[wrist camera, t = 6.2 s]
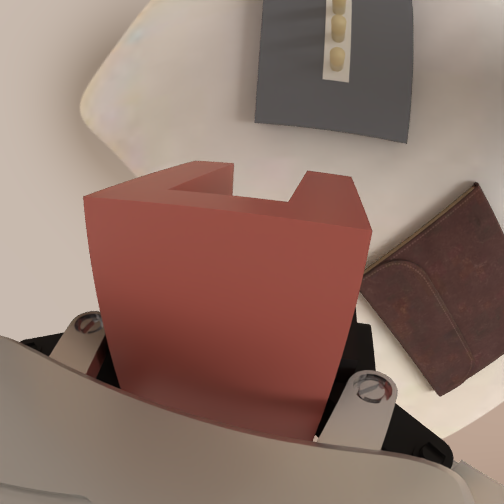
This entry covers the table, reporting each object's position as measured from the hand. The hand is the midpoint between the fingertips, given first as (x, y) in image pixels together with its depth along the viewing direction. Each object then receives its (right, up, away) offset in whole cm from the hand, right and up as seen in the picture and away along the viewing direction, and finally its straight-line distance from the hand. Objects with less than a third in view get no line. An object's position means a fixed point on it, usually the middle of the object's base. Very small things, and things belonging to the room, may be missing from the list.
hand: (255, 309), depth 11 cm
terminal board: (+7, +20, +9) cm, 23 cm away
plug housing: (0, 0, 0) cm, 1 cm away
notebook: (+21, -3, +16) cm, 27 cm away
